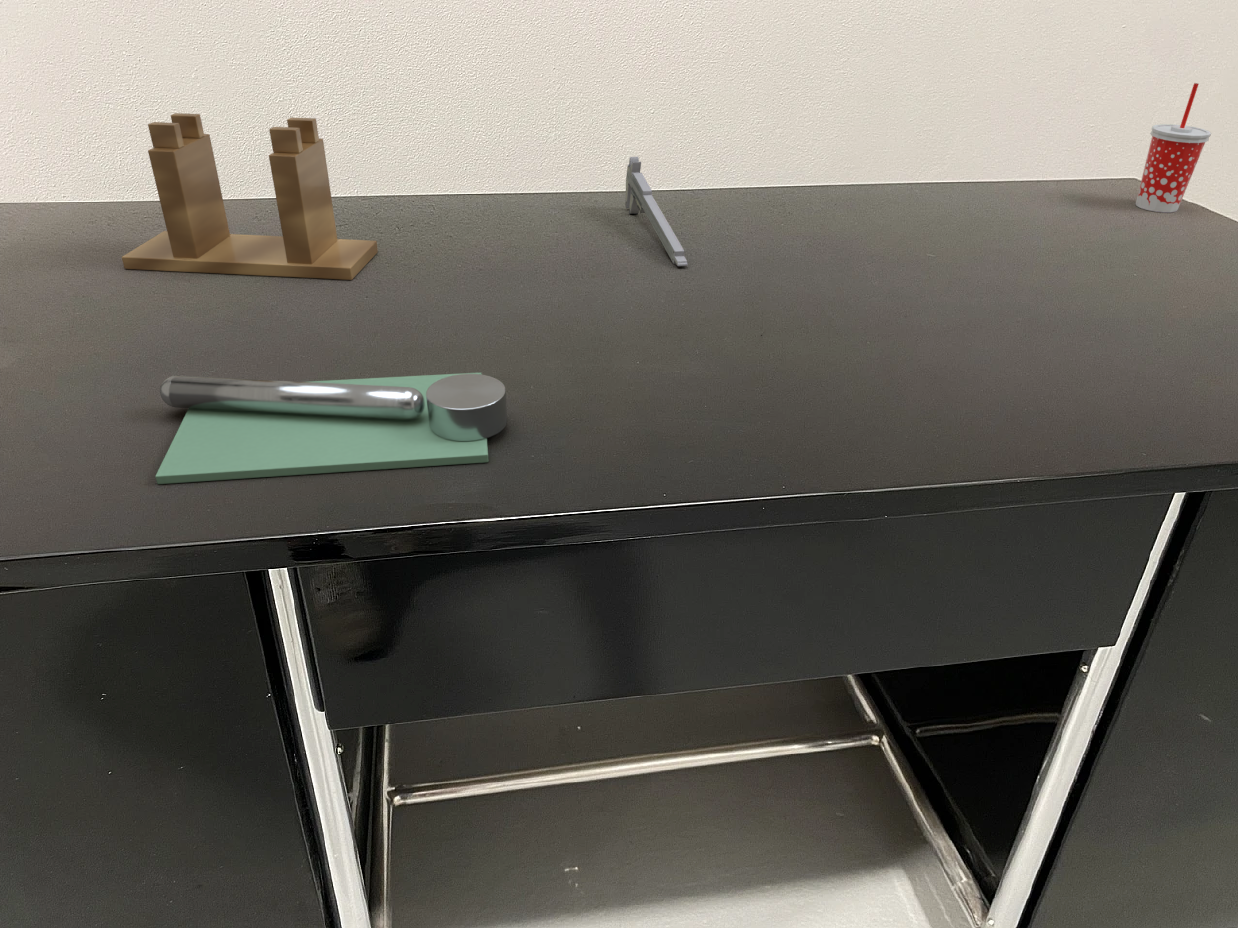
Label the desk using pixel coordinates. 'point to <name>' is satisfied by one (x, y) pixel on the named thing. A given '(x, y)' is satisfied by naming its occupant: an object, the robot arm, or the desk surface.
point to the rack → (202, 220)
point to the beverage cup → (1170, 163)
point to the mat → (309, 442)
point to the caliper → (651, 211)
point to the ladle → (355, 401)
